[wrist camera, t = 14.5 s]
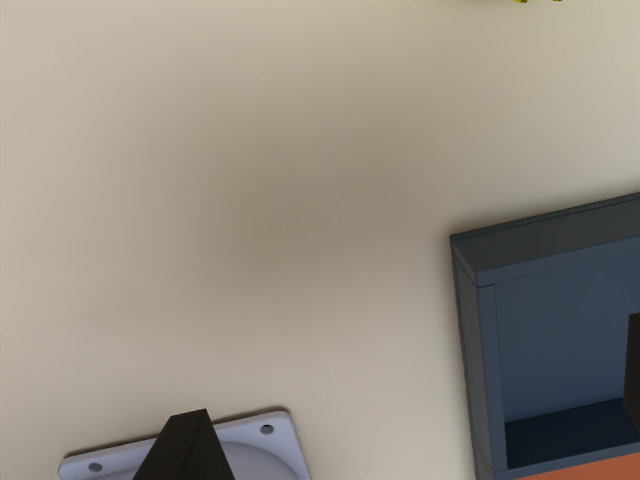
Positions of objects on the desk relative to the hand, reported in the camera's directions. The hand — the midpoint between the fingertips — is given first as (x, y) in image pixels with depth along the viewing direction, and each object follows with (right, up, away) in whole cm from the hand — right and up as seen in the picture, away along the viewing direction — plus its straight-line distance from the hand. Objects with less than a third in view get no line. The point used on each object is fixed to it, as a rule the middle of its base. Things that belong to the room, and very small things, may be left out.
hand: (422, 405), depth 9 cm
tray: (+9, -4, +13) cm, 17 cm away
